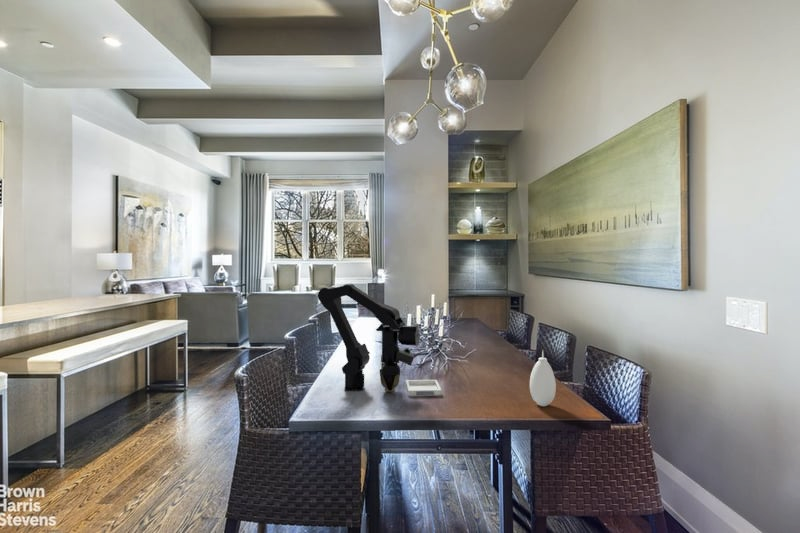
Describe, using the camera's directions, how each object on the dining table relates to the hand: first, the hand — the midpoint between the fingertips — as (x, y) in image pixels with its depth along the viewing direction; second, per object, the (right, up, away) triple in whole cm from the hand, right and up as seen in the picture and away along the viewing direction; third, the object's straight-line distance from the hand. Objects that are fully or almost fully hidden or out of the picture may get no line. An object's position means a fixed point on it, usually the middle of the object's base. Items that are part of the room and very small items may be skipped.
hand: (389, 387), depth 136 cm
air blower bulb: (+50, -2, -12) cm, 51 cm away
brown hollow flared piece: (0, -2, 0) cm, 2 cm away
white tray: (+12, -2, +2) cm, 12 cm away
